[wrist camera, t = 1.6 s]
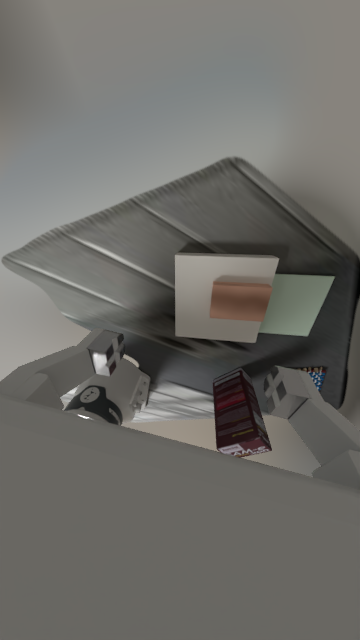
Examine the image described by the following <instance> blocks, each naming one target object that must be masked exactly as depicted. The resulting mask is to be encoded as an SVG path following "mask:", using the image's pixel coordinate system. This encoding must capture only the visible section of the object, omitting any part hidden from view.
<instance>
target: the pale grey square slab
mask: <svg viewBox="0 0 360 640" xmlns="http://www.w3.org/2000/svg"><path fill="white" fill-rule="evenodd" d="M278 261H279V258H277V257H275V256H273V255H246V254H212V253H179V252H178V253H177V254H176V255H175V336H179V337H190V338H202V339H213V340H225V341H237V342H248V343H255V342H256V339H257V335H258V331H259V328H260V324H261V322H259V321H245V320H231V319H217V318H210V305H211V296H212V286H213V281H216V282H237V283H258V284H269V285H270V286H272V282H273V279H274V275H275V272H276V268H277V265H278Z"/></svg>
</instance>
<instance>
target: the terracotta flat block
mask: <svg viewBox="0 0 360 640" xmlns="http://www.w3.org/2000/svg"><path fill="white" fill-rule="evenodd" d="M272 289H273V288H272V287H271V286H270V285H269V284H258V283H237V282H216V281H213V286H212V296H211V305H210V318H217V319H231V320H245V321H259V322H263V320H264V317H265V313H266V310H267V307H268V303H269V300H270V296H271V293H272Z"/></svg>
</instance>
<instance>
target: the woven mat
mask: <svg viewBox="0 0 360 640" xmlns="http://www.w3.org/2000/svg"><path fill="white" fill-rule="evenodd" d="M297 370H301V369H297ZM302 371H306V372H307V373H309V375H310V376H311V378H312V380H313V382H314V384H315V386H316V387H317V389H318V391H320V390H319V389H321V388H320V387H321V385H322V383H321V382H322V381H323V380H324V378H322V377H324V375H325V373H324V372H326V371H325V370H322V367H320V369H319V370H318V368H314V369H312V370H311V367H309V368H308V370H307V369H306V368H303V370H302ZM319 393H320V392H319Z"/></svg>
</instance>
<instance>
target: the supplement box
mask: <svg viewBox="0 0 360 640" xmlns="http://www.w3.org/2000/svg"><path fill="white" fill-rule="evenodd" d="M213 395H214V412H215V429H216V445H217V450H218V451H220V452H221V453H224V454H228V455H232V456H235V457H239V458H240V457H245V456H249V455H254V454H258V453H263V452H268V451H272V448H271V445H270V441H269V438H268V435H267V432H266V428H265V425H264V421H263V418H262V415H261V411H260V408H259V405H258V401H257V398H256V394H255V391H254V388H253V384H252V381H251V378H250V377H249V376H248V375H247V374H246V373H245V372H244V371H243V369H242V368H238V369H236V370H234V371H232V372H230V373H228V374H226V375H224V376H221V377H219V378H217V379H215V380H213Z"/></svg>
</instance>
